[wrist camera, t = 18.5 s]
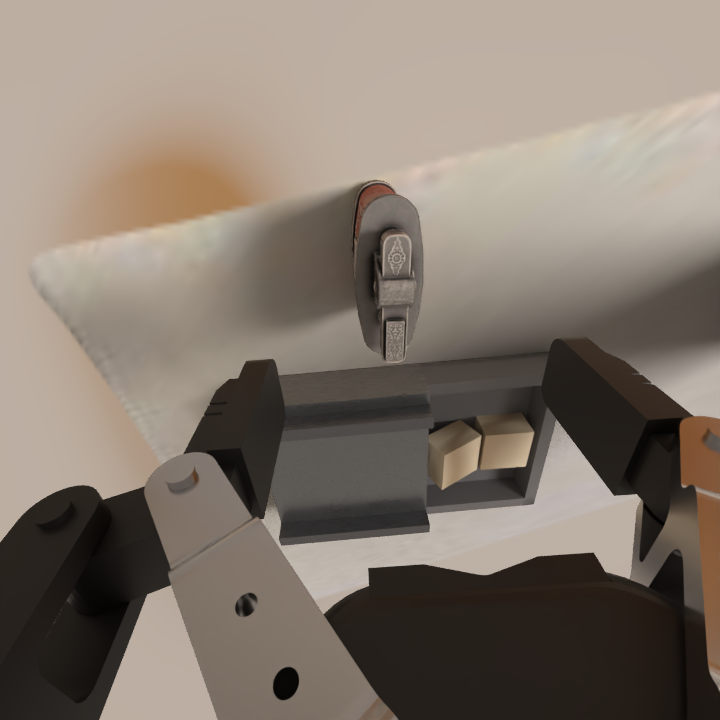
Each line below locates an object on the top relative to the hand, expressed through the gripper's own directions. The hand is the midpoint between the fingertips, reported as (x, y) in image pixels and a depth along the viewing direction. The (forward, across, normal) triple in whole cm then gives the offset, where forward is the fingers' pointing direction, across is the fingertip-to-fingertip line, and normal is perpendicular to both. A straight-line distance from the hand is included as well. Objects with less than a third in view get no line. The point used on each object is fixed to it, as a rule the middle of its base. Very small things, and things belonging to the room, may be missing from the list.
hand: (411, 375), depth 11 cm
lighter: (+16, 0, 0) cm, 16 cm away
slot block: (+16, +3, +17) cm, 24 cm away
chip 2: (+13, -10, +17) cm, 24 cm away
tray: (+16, -8, +17) cm, 25 cm away
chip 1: (+14, -5, +18) cm, 23 cm away
